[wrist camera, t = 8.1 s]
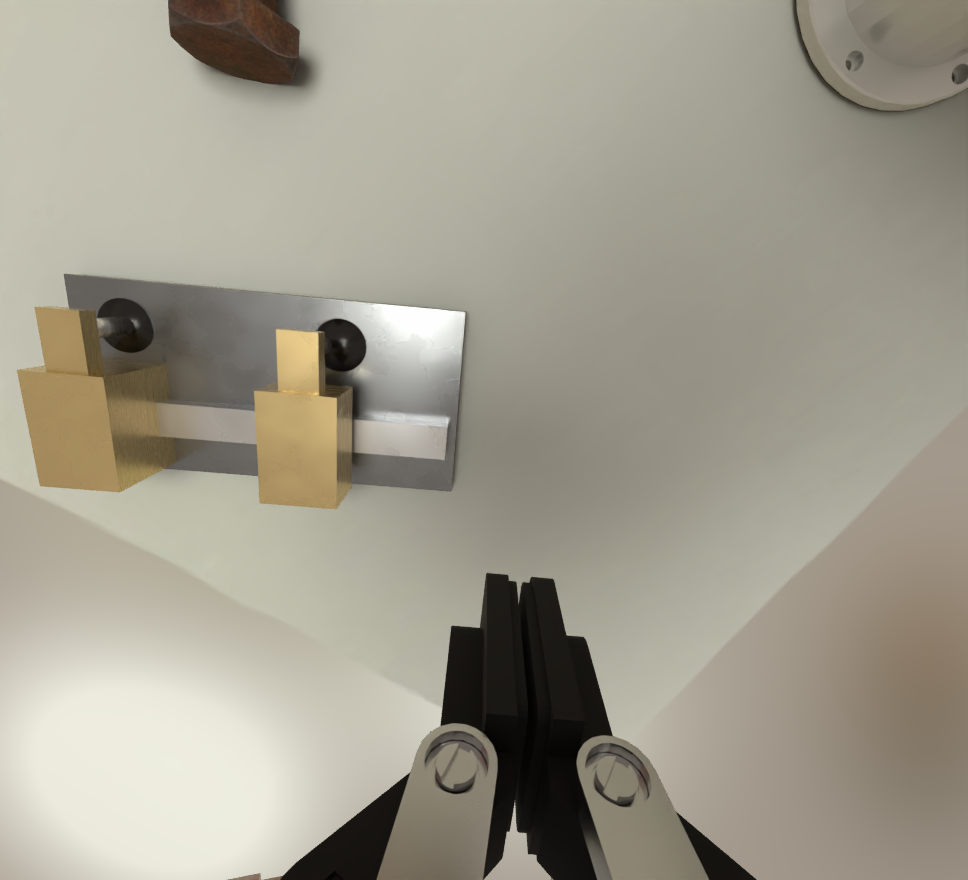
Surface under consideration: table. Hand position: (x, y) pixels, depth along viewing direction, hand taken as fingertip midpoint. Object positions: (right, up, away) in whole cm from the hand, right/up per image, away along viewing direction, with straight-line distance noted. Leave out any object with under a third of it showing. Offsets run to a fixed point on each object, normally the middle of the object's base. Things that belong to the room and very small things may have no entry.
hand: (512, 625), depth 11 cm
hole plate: (-13, +8, +17) cm, 23 cm away
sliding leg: (-10, +7, +15) cm, 20 cm away
